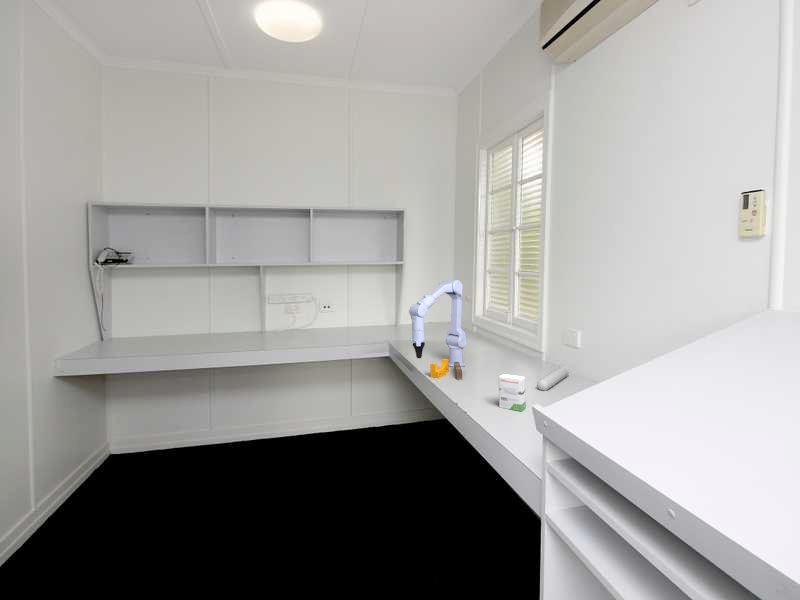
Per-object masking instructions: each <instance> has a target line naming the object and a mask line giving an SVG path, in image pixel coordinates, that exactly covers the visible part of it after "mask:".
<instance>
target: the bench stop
mask: <svg viewBox="0 0 800 600" xmlns="http://www.w3.org/2000/svg"><path fill="white" fill-rule="evenodd" d="M453 367H454V368H453V370H454V373H455V377H456V378H455V379H456V380H459V381H460V380H461V381H463V369H462V366H460V363H459V362H454V366H453Z"/></svg>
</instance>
